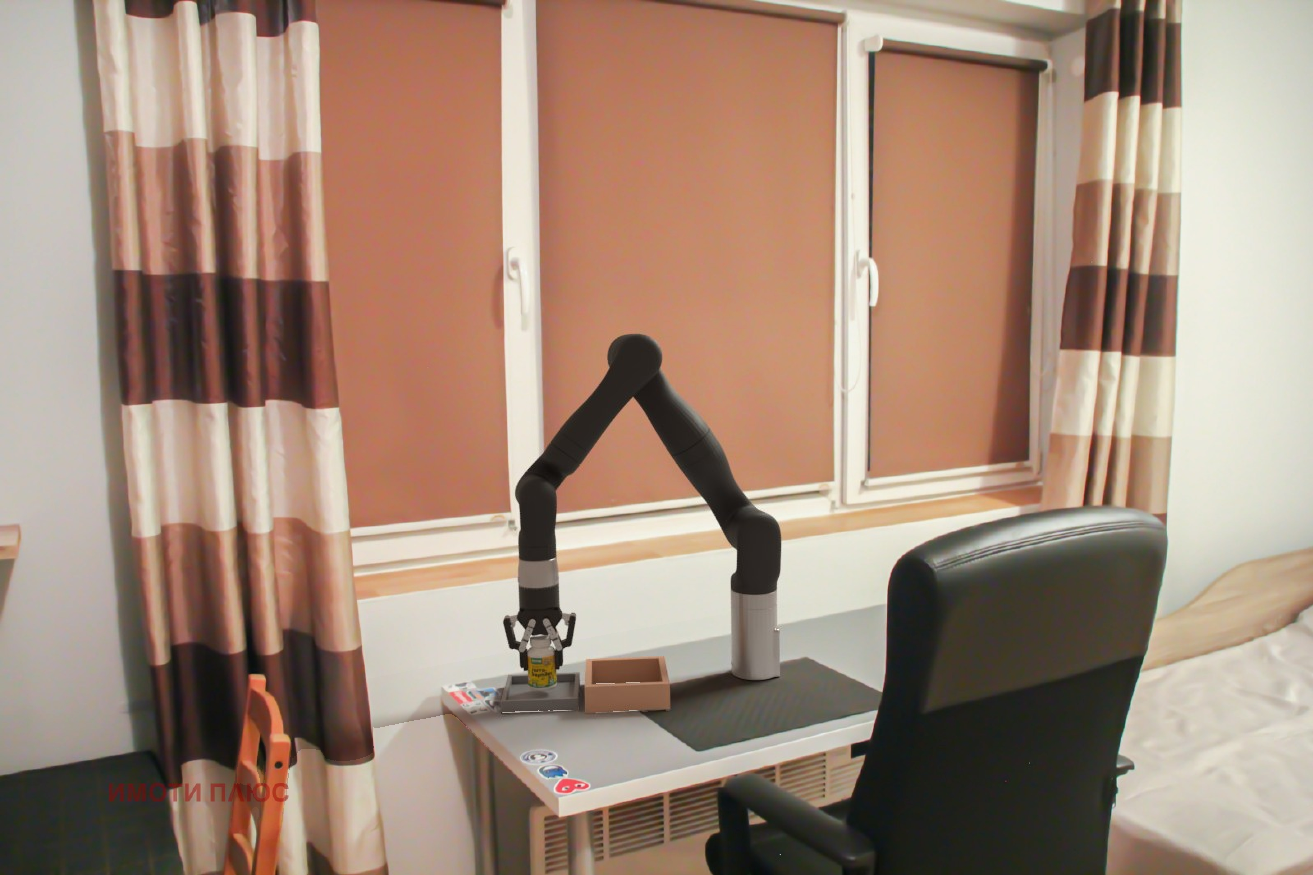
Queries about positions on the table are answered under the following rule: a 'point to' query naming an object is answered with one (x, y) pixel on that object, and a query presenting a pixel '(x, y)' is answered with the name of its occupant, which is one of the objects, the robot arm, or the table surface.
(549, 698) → the tray
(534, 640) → the supplement bottle
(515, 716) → the table surface
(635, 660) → the box
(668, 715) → the table surface
